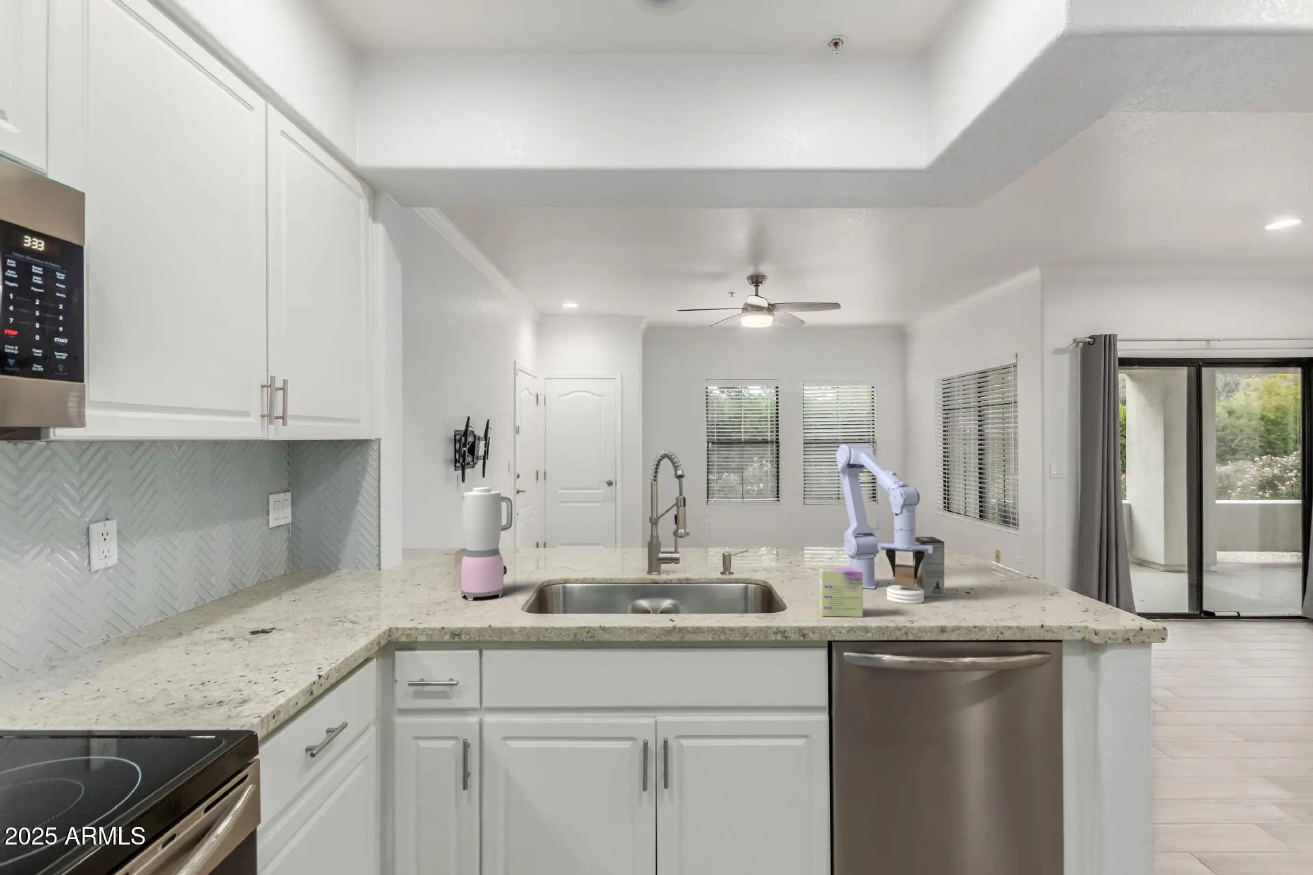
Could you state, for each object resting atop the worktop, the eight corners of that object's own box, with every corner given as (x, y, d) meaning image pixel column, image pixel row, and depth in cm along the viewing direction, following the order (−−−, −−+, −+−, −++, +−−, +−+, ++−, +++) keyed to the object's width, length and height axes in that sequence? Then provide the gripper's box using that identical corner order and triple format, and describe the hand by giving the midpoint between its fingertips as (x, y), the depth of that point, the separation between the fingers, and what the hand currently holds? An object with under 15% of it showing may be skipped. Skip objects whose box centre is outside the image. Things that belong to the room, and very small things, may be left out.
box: (858, 611, 175) (858, 567, 175) (863, 617, 169) (862, 571, 169) (818, 610, 176) (818, 566, 176) (821, 616, 170) (821, 570, 170)
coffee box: (911, 589, 199) (911, 536, 199) (933, 589, 199) (932, 536, 199) (923, 596, 190) (923, 541, 190) (945, 596, 190) (945, 541, 190)
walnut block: (896, 581, 190) (896, 564, 190) (915, 583, 188) (915, 565, 188) (894, 585, 185) (895, 567, 185) (914, 586, 183) (914, 568, 183)
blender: (468, 603, 187) (467, 490, 187) (455, 594, 197) (454, 487, 197) (520, 595, 196) (520, 487, 196) (505, 587, 206) (504, 485, 206)
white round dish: (886, 603, 184) (885, 590, 184) (887, 595, 193) (887, 583, 193) (924, 606, 180) (924, 593, 180) (924, 597, 190) (923, 585, 190)
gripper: (876, 529, 186) (877, 577, 186) (932, 532, 180) (932, 581, 180) (878, 526, 192) (878, 573, 192) (932, 528, 187) (932, 576, 187)
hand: (905, 577), depth 187 cm, fingers closed on walnut block, 5 cm apart
